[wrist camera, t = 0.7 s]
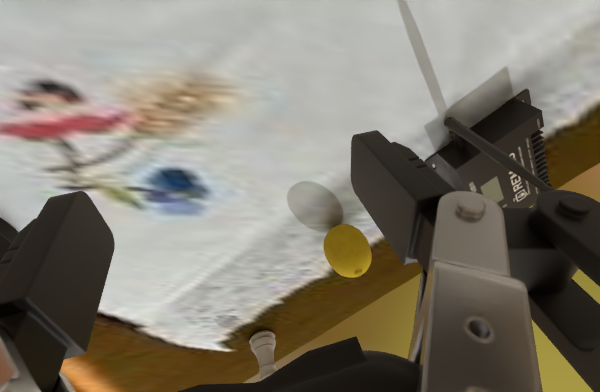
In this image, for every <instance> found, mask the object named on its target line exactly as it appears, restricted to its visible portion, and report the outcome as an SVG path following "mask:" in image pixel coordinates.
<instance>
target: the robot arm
mask: <svg viewBox="0 0 600 392" xmlns="http://www.w3.org/2000/svg"><path fill="white" fill-rule="evenodd" d="M351 182H352V186H353V189H354V191H355V193H356V195H357V196H358V198H359V199H360V201H361V202H362V204H363V205H364V207H365V208H366V210H367V211H368V213H369V214H370V216H371V217H372V219H373V220H374V222H375V223H376V225H377V226H378V228H379V229H380V231H381V232H382V233H383V235H384V236H385V238H386V239H387V241H388V242H389V244H390V245H391V247H392V248H393V250H394V251H395V253H396V254H397V256H398V257H399V259H400V260H401V262H402V263H403V265H407V264H411V263H414V262H419V263H420V265H421V266H422V272H421V278H420V284H419V291H418V299H417V306H416V313H415V320H414V327H413V333H412V339H411V343H410V348H409V354H408V359H405V358H402V357H399V356H397V355H393V354H389V353H385V352H379V351H362V349H361V346H360V344H359V342H358V339H357V337H353V338H349V339H347V340H343V341H340V342H337V343H334V344H330V345H327V346H324V347H321V348H317V349H314V350H311V351H308V352H306V353H305V354H303V355H301V356H300V357H298V358H297V359H295V360H293V361H292V362H290V363H289V364H287V365H285V366H284V367H282V368H281V369H279V370H278V371H276V372H274V373H273V374H271V375H270V376H268V377H266V378H265V379H263V380H261V381H259V382H256V383H239V384H208V385H198V386H195V387H191V388H188V389H185V390H182V391H178V392H543V391H542V385H541V378H540V372H539V365H538V359H537V352H536V345H535V340H534V333H533V326H532V320H533V321H534V322H535V323H536V324H537V326H538V327H539V328H540V329H541V330H542V331H543V333H544V334H545V335H546V336H547V337H548V339H549V340H550V341H551V342H552V343H553V344H554V346H555V347H556V348H557V349H558V350H559V352H560V353H561V354H562V355H563V356H564V357H565V359H566V360H567V361H568V362H569V363H570V364H571V366H572V367H573V368H574V369H575V370H576V371H577V373H578V374H579V375H580V376H581V377H582V379H583V380H584V381H585V382H586V383H587V384H588V386H589V387H590V388H591V389H592V390H593V391H594V392H600V304H599V303H597V302H596V301H595V300H594V299H593V298H592V297H591V296H590V295H589V294H588V293H587V292H586V291H584V290H583V289H582V288H581V287H580V286H579V285H578V284H577V283H576V282H575V281H574V280H573V279H572V277H573V275H574V274H575V273H576V271H577V270H578V269H580V270H581V271H583V272H584V273H585V274H586V275H587V276H588V277H589V278H590V279H592V280H593V281H594V282H595V283H596V284H597V285H599V286H600V203H599V202H597V201H595V200H594V199H592V198H590V197H587V196H585V195H582V194H579V193H576V192H571V191H565V190H550V191H545V192H543V193H541V194H540V195H539V196H538V197H537V199H536V201H535V203H534V205H533V207H532V208H501V207H500V206H499V205H498V204H497V203H496V202H495V201H493V200H492V199H490V198H488V197H486V196H484V195H481V194H478V193H474V192H469V191H456V190H455V189H454V188H453V187H452V186H450V185H449V184H448V183H447V182H446V181H445V180H444V179H443V178H442V177H440V176H439V175H438V174H437V173H436V172H435V171H434V170H433V169H432V168H430V167H429V166H428V167H427V164H426V163H425V162H424V161H423V160H422V159H419V157H418V156H417V155H416V154H415V153H414V152H413V151H412V150H411V149H409V148H407V147H405V146H403V145H401V144H398V143H396V142H392V143H390V142H389V141H388V140H387V139H386V138H385V137H384V136H383V135H382V134H381V133H380V132H379V131H377V130H375V131H370V132H366V133H361V134H356V135H354V136H353V137H352V142H351ZM113 252H114V238H113V234H112V232H111V230H110V228H109V227H108V225H107V224H106V222H105V220H104V219H103V217H102V216H101V214H100V213H99V211H98V210H97V208H96V206H95V205H94V203H93V202H92V200H91V199H90V197H89V196H88V195H87V194H86V193H85V192H83V191H78V192H73V193H68V194H64V195H59V196H54V197H51V198H49V199H48V201H47V202H46V204H45V205H44V207H43V209H42V210H41V212H40V214H39V215H38V217H37V219H34V220H33V221H31V222H30V223H29V224H28V225H27V226H26V227H25V228H24V229H22V230H21V231H20V232H19V233H18V234H17V235H16V237H15V239H14V240H13V242H12V243H11V245H10V246H9V248H8V252H6V253H5V254H4V256H3V257H2V259H1V261H0V392H76V391H75V390H74V388H73V386H72V385H71V383H70V382H69V380H68V379H67V377H66V376H65V375H64V374H63V373H62V372H61V371H60V369H61V366H62V363H63V360H64V359H67V358H71V357H74V356H78V355H81V354H85V353H86V351H87V347H88V343H89V340H90V336H91V333H92V329H93V325H94V322H95V318H96V314H97V311H98V307H99V303H100V300H101V296H102V292H103V289H104V285H105V281H106V278H107V274H108V271H109V267H110V263H111V260H112V256H113ZM531 319H532V320H531Z"/></svg>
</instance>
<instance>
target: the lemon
mask: <svg viewBox="0 0 600 392" xmlns="http://www.w3.org/2000/svg"><path fill="white" fill-rule="evenodd" d="M324 252H325V256H326V258H327V260H328V262H329V264H330V265H331V266H332V268H333V269H334V270H335V271H336V272H337V273H339V274H340V275H342V276H345V277H357V276H361V275H362V274H363V273H364V272H365V271H366V270H367V269H368V268H369V266H370V263H371V257H372V256H371V250H370V246H369V243H368V241H367V239H366V237H365V236H364V235H363V233H362V232H361V231H360V230H359V229H357V228H355V227H354V226H351V225H347V224H342V225H338V226H335V227H333V228H332V229H331V230H330V231H329V232H328V233H327V235H326V237H325V240H324Z"/></svg>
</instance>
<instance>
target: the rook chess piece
mask: <svg viewBox="0 0 600 392" xmlns="http://www.w3.org/2000/svg"><path fill="white" fill-rule="evenodd" d="M274 338H275V335H274V333H272V332H271V331H268V330H263V331H259V332H257V333H255V334H253V336H252V337H251V338H250V341H249V343H250V345H251V349H252V351H253V352H254V354H255V355H256V356H257V360H258V363H259V368H260V369H259V373H260V374H261V378H260V380H259V381H261V380H263V379H265V378H266V377H268V376H270V375H271V374H273V373H274V372H276V371H275V369H276V365H275V364H274V354H273V352H274V347H275V344H276V340H275V339H274Z"/></svg>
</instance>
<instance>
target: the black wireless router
mask: <svg viewBox="0 0 600 392" xmlns="http://www.w3.org/2000/svg"><path fill="white" fill-rule="evenodd" d="M524 99H525V102H522V100H524ZM444 125H445V126H446V127H448V129H449V131H450V134H451V137H452V139H453V142H451V143H450V144H449V145H447V146H446V147H444V148H443V149H442V150H440V151H439V152H437V153H436V154H435V155H433V156H432V157H430V158H429V159H428V160H426V162H425V163H426V164H427V167H428V166H429V167H430V168H432V169H433V167H432V164H433V163H435V165H436V168H435V169H433V170H434V171H435V172H436V173H437V174H438V175H439V176H440V177H442V178H443V179H444V180H445V181H446V182H447V183H448V184H449V185H450V186H452V187H453V188H454V189H455V190H456V191H469V192H474V193H478V194H481V195H484V196H486V197H488V198H490V199H492V200H493V201H495V202H496V203H497V204H498V205H499V206H500V207H501V208H528V207H530V206H531V205H533V204H534V203H535V201H536V199H537V197H538V196H539V195H540V194H541V193H543V192H545V191H550V190H554V189H553V188H552V185H550V184H549V183H548V182H550V181H549V180H548V178H549V176H547V174H549V173H548V172H547V171H546V170H548V167H547V166H545V165H546V164H547V162H545V161H544V160H546V159H547V158H545V157H544V155H546V153H544V152H542V151H544V150H545V147H543V146H542V145H543V144H544V142H543V141H541V140H542V139H543V138H544V137H542V136H540V135H541V134H542V133H543V132H542V131H540V130H539V129H541V128H542V127H544V124H543V117H542V110H539V109H537V108H535V107H533V106H531V100H530V94H529V90H524V91H523V92H522V93H520V94H519V95H517V96H516V97H515V98H513V99H512V100H510V101H509V102H508V103H506V104H505V105H503V106H502V107H501V108H499V109H498V110H496V111H495V112H494V113H492V114H491V115H489V116H488V117H487V118H485V119H484V120H482V121H481V122H480V123H478V124H477V125H475V126H474V127H473V128H471V129H469V128H467V127H466V126H464V125H463V124H461V123H460V122H458V121H457V120H455V119H454V118H452V117H449V118H447V119H446V120H445V122H444Z"/></svg>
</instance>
